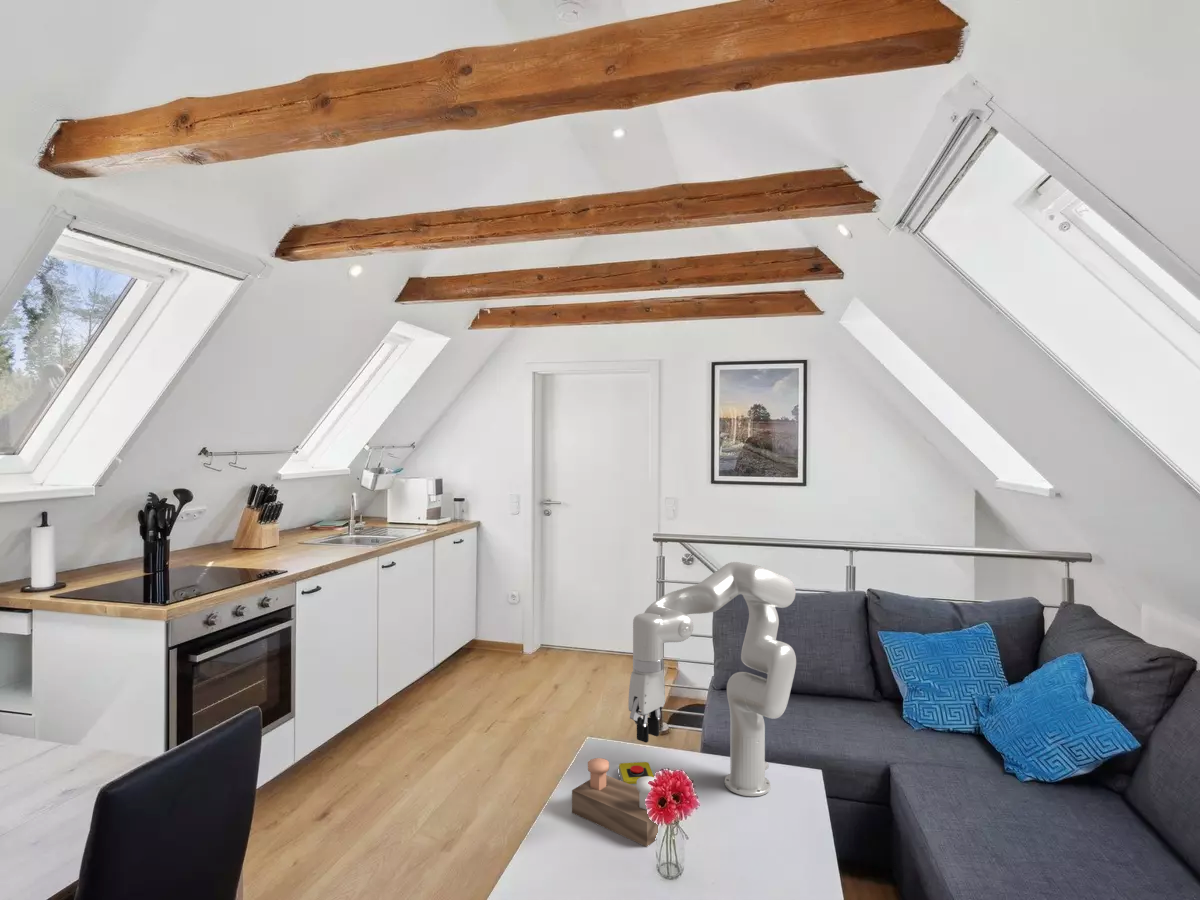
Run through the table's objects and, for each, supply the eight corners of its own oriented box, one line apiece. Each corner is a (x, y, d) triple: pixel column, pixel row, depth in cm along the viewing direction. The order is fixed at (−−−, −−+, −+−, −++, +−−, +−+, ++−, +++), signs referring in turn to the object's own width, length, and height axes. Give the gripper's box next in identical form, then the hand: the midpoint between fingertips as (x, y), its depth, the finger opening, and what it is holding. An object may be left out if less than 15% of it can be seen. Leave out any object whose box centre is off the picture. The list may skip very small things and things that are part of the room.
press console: (600, 794, 186) (600, 772, 186) (674, 825, 171) (674, 801, 171) (571, 812, 177) (571, 789, 177) (647, 847, 162) (647, 822, 162)
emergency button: (624, 780, 187) (616, 755, 201) (624, 796, 187) (616, 770, 201) (657, 778, 188) (647, 754, 202) (657, 794, 188) (647, 768, 202)
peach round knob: (596, 784, 183) (596, 756, 183) (613, 790, 179) (613, 762, 179) (583, 792, 179) (583, 763, 179) (599, 799, 175) (599, 770, 175)
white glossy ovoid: (645, 803, 173) (645, 774, 173) (663, 811, 169) (663, 781, 169) (632, 813, 169) (632, 782, 168) (650, 820, 165) (650, 789, 165)
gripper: (654, 653, 178) (654, 723, 178) (615, 669, 165) (615, 745, 165) (678, 659, 173) (678, 731, 173) (640, 676, 160) (640, 753, 160)
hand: (647, 737), depth 169 cm, fingers open, 3 cm apart
